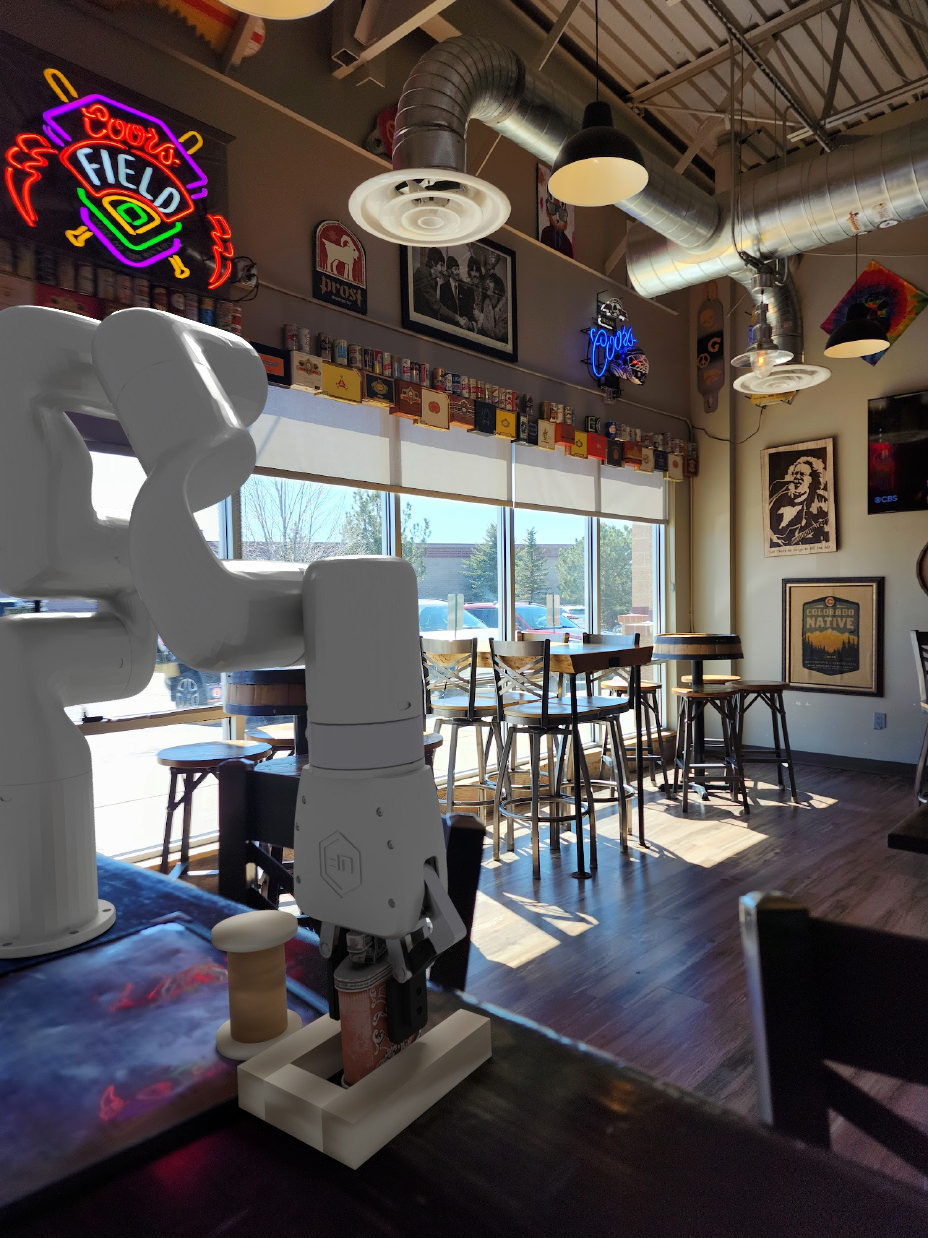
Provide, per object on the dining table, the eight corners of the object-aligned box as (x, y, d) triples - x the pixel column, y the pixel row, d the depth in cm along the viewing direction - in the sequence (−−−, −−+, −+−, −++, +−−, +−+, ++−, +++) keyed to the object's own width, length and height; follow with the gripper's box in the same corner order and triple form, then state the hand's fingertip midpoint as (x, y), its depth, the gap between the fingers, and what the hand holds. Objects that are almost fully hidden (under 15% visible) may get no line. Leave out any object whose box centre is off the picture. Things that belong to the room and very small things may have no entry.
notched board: (238, 1107, 48) (237, 1066, 48) (382, 1015, 59) (380, 982, 59) (355, 1170, 42) (353, 1124, 42) (491, 1055, 53) (490, 1018, 53)
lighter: (379, 1107, 47) (366, 939, 47) (329, 1099, 48) (318, 935, 48) (432, 1038, 55) (421, 894, 55) (388, 1033, 56) (378, 892, 56)
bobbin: (198, 1043, 56) (193, 932, 56) (266, 1007, 61) (261, 904, 61) (252, 1070, 52) (247, 950, 52) (319, 1029, 57) (314, 920, 57)
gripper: (238, 745, 53) (249, 1012, 54) (430, 766, 43) (444, 1095, 43) (320, 729, 59) (330, 969, 60) (506, 744, 49) (517, 1034, 49)
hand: (378, 1019), depth 51 cm, fingers open, 4 cm apart
